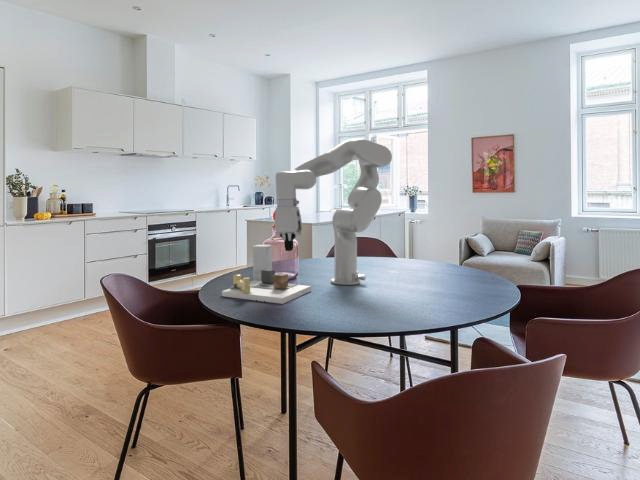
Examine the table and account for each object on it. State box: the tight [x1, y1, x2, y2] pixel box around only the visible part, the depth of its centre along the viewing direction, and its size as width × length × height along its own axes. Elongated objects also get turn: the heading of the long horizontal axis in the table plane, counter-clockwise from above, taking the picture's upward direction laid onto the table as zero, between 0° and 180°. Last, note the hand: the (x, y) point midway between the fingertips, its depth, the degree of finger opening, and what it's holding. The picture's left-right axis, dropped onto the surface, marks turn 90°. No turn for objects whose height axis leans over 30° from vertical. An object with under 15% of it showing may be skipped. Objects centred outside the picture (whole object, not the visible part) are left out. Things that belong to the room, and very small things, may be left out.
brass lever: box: [232, 273, 251, 293], centre depth 175 cm, size 14×3×5 cm, turn 27°
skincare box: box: [252, 244, 273, 281], centre depth 202 cm, size 8×7×16 cm
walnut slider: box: [273, 272, 289, 289], centre depth 177 cm, size 4×4×5 cm
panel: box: [221, 280, 312, 305], centre depth 179 cm, size 27×22×2 cm
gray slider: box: [261, 268, 276, 283], centre depth 187 cm, size 4×4×5 cm
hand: (289, 250), depth 183 cm, fingers closed
